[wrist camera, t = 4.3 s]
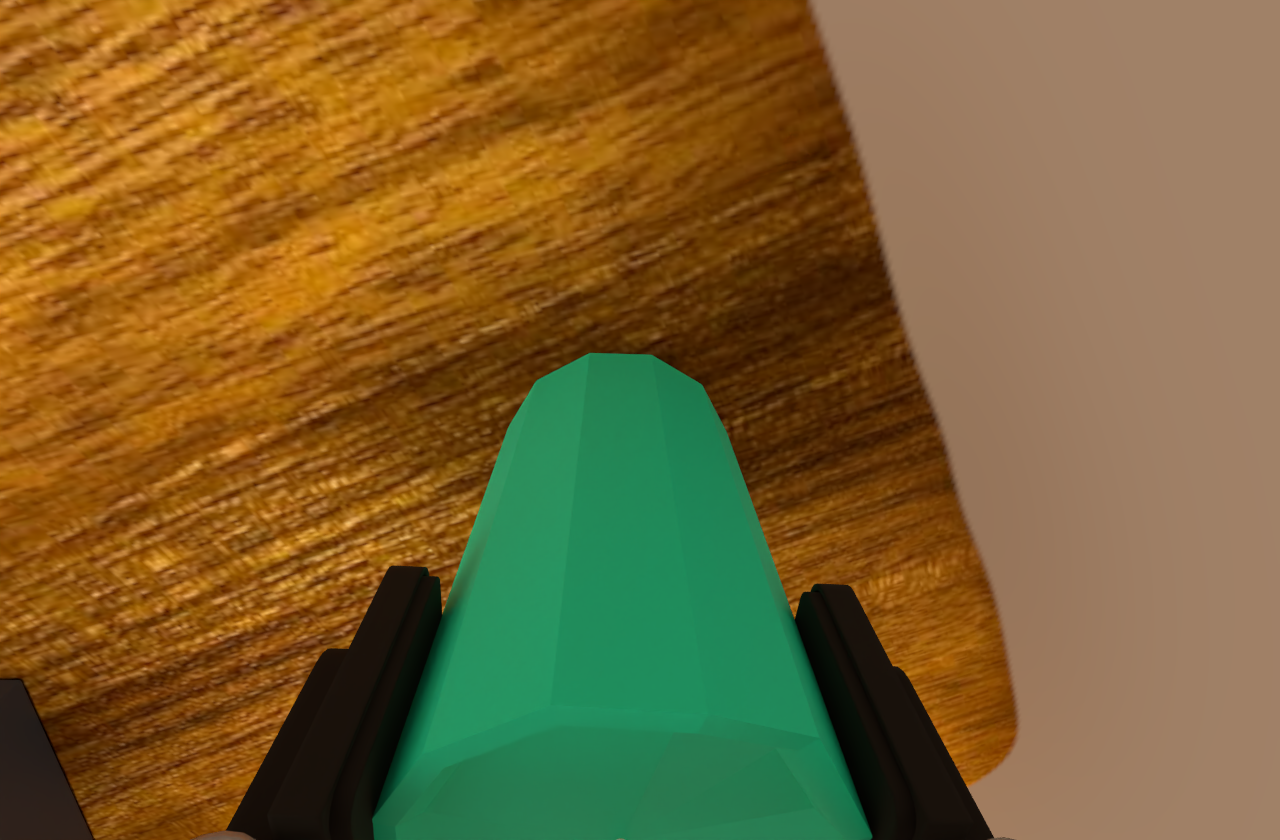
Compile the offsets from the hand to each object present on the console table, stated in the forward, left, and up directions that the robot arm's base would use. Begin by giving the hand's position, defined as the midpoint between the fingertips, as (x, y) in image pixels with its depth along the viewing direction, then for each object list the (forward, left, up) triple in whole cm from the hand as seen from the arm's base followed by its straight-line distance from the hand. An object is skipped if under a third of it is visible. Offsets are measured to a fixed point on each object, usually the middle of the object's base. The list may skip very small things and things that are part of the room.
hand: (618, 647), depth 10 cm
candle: (0, 0, -7) cm, 7 cm away
